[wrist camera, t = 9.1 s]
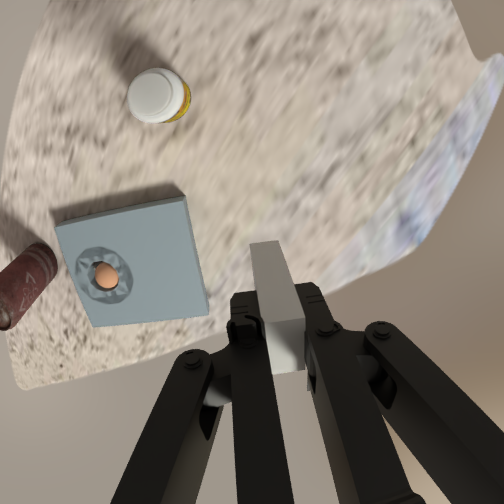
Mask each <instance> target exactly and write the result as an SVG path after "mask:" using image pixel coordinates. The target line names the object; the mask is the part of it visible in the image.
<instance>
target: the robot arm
mask: <svg viewBox="0 0 504 504" xmlns="http://www.w3.org/2000/svg"><path fill="white" fill-rule="evenodd" d="M250 251H251V259H252V268H253V276H254V285H255V291H247V292H239V293H234V295H233V296H232V298H231V300H230V312H231V319H230V320H229V321H228V322H227V326H226V328H227V333H228V338H229V344H228V345H227V346H226V347H225V348H224V349H222V350H220V351H218V352H215V353H213V354H210V355H209V353H207V352H206V351H204V350H200V349H192V350H188V351H185V352H183V353H182V354H180V355H179V356H178V357H177V359H176V360H175V362H174V364H173V367H172V369H171V371H170V373H169V375H168V377H167V379H166V381H165V384H164V386H163V388H162V390H161V392H160V394H159V397H158V399H157V401H156V403H155V405H154V407H153V409H152V412H151V414H150V416H149V418H148V420H147V422H146V425H145V427H144V429H143V431H142V433H141V436H140V438H139V440H138V442H137V444H136V447H135V449H134V451H133V453H132V455H131V458H130V460H129V462H128V464H127V467H126V469H125V471H124V473H123V476H122V478H121V480H120V482H119V485H118V487H117V489H116V492H115V494H114V496H113V498H112V501H111V503H110V504H195V503H196V499H197V496H198V493H199V489H200V486H201V482H202V479H203V476H204V473H205V469H206V466H207V462H208V459H209V456H210V452H211V449H212V445H213V442H214V439H215V435H216V432H217V428H218V425H219V421H220V418H221V414H222V411H223V407H224V404H227V403H229V402H232V414H233V433H234V453H235V469H236V486H237V501H238V504H294V499H293V493H292V488H291V481H290V475H289V469H288V464H287V459H286V452H285V446H284V440H283V434H282V429H281V423H280V417H279V411H278V405H277V400H276V393H275V388H274V382H273V376H272V375H273V374H279V373H286V372H293V371H299V370H305V362H306V366H307V369H308V382H307V391H310V390H311V394H312V398H313V402H314V405H315V409H316V413H317V417H318V420H319V424H320V428H321V432H322V436H323V440H324V444H325V448H326V452H327V456H328V459H329V463H330V467H331V471H332V475H333V479H334V483H335V487H336V492H337V496H338V500H339V503H340V504H426V503H425V501H424V499H423V498H422V497H421V496H420V495H418V494H416V493H414V492H413V491H412V489H411V487H410V485H409V482H408V480H407V477H406V475H405V472H404V469H403V467H402V464H401V461H400V459H399V457H398V454H397V451H396V449H395V446H394V444H393V441H392V439H391V436H390V434H389V432H388V429H387V426H386V424H385V422H384V419H383V417H384V418H385V419H386V420H387V422H388V423H389V424H390V426H391V427H392V428H393V429H394V431H395V432H396V433H397V434H398V436H399V437H400V438H401V440H402V441H403V442H404V443H405V445H406V446H407V447H408V449H409V450H410V451H411V452H412V454H413V455H414V456H415V457H416V459H417V460H418V461H419V463H420V464H421V465H422V466H423V468H424V469H425V470H426V472H427V473H428V474H429V475H430V477H431V478H432V479H433V481H434V482H435V483H436V485H437V486H438V487H439V488H440V490H441V491H442V492H443V493H444V494H445V496H446V497H447V499H448V500H449V501H450V503H451V504H504V432H503V431H502V430H501V429H500V428H499V427H498V426H497V425H496V424H495V423H494V422H493V421H492V420H491V419H490V418H489V417H488V416H487V415H486V414H485V413H484V412H483V411H482V410H481V409H480V408H479V407H478V406H477V405H476V404H475V403H474V402H473V401H472V400H471V399H470V398H469V396H467V394H466V393H465V392H463V391H462V390H461V389H460V388H459V387H458V386H457V385H456V384H455V383H454V382H453V381H452V380H451V379H450V378H449V377H448V376H447V375H446V374H445V373H444V372H443V371H442V370H441V369H440V368H439V367H438V366H437V365H436V364H435V363H434V362H433V361H432V360H431V359H430V358H429V357H428V356H427V355H425V354H424V353H423V352H422V351H421V350H420V349H419V348H418V347H417V346H416V345H415V344H414V343H413V342H412V341H411V340H410V339H408V337H406V336H405V335H404V334H403V333H402V332H401V331H400V330H399V329H398V328H397V327H395V326H394V325H393V324H391V323H388V322H385V321H377V322H373V323H371V324H369V325H368V326H367V327H366V329H365V331H350V330H346V329H343V327H342V326H341V325H340V323H338V322H336V321H334V319H333V317H332V315H331V312H330V310H329V308H328V306H327V304H326V302H325V299H324V297H323V296H322V293H321V291H320V289H319V287H318V286H316V285H315V284H314V283H312V282H308V283H301V284H294V283H293V280H292V278H291V275H290V272H289V269H288V266H287V264H286V261H285V258H284V255H283V252H282V250H281V247H280V244H279V241H278V240H276V241H268V242H260V243H252V244H250ZM382 415H383V417H382Z"/></svg>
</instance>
